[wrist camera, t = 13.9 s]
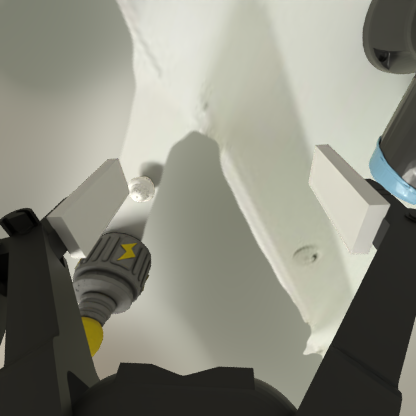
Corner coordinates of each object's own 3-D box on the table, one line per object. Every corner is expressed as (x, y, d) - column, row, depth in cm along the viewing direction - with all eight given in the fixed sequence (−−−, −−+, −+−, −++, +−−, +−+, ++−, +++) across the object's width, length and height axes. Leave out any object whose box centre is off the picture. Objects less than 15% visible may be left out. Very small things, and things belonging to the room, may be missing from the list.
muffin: (163, 185, 55) (156, 202, 49) (145, 197, 57) (136, 213, 51) (146, 166, 52) (136, 180, 46) (127, 178, 54) (116, 194, 48)
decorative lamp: (164, 249, 68) (129, 362, 43) (139, 279, 77) (99, 386, 53) (104, 219, 62) (25, 330, 38) (85, 256, 72) (13, 363, 48)
